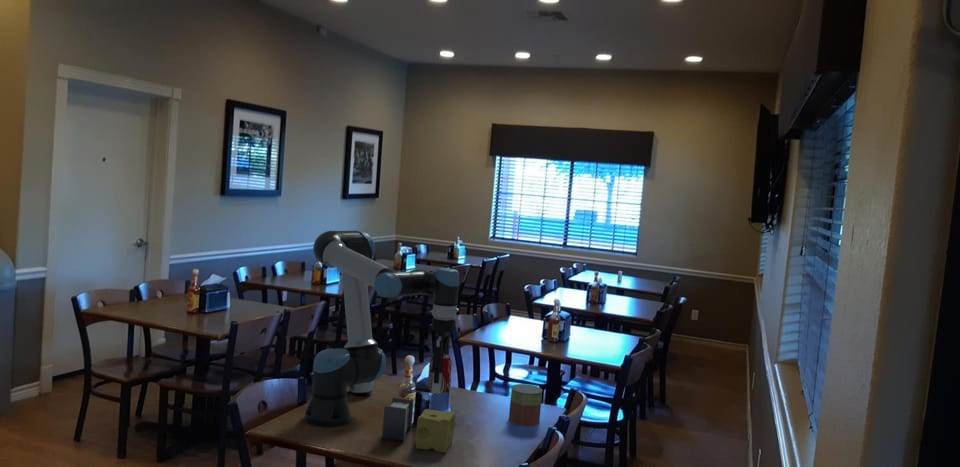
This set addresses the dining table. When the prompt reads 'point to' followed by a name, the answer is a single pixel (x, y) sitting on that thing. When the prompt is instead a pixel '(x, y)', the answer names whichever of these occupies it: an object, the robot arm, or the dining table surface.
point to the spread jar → (361, 389)
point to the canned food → (525, 405)
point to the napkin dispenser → (397, 420)
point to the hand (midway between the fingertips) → (438, 389)
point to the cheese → (435, 430)
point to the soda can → (445, 375)
